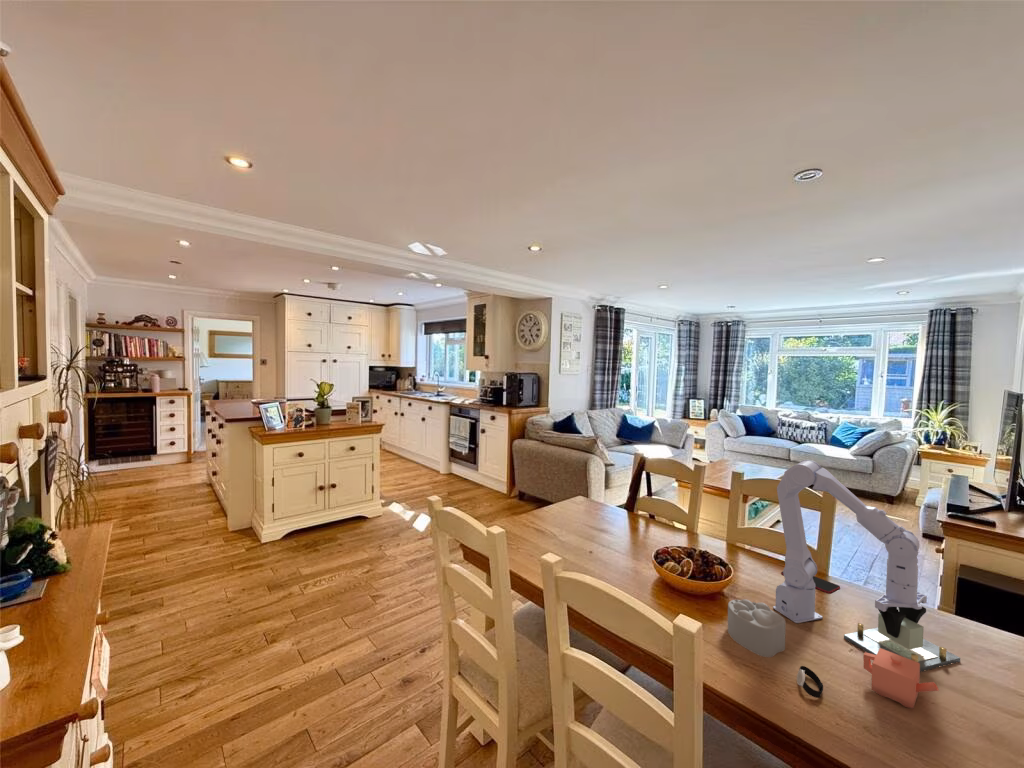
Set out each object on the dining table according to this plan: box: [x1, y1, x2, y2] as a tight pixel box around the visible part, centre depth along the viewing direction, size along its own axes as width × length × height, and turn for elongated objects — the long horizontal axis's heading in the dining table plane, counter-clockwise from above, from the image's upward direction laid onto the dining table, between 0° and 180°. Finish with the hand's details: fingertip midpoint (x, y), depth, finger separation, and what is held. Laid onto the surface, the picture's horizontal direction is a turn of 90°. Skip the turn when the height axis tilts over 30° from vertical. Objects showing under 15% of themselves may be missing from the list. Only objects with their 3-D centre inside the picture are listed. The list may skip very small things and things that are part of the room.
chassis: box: [843, 622, 961, 673], centre depth 107 cm, size 18×14×4 cm
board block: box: [877, 612, 924, 650], centre depth 106 cm, size 4×7×5 cm, turn 14°
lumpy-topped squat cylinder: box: [727, 598, 786, 658], centre depth 111 cm, size 10×13×9 cm
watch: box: [796, 665, 824, 699], centre depth 95 cm, size 8×5×4 cm, turn 158°
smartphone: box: [780, 571, 841, 594], centre depth 141 cm, size 7×1×15 cm
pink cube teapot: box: [863, 648, 940, 710], centre depth 92 cm, size 8×12×8 cm, turn 40°
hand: (899, 633), depth 107 cm, fingers closed on board block, 4 cm apart
